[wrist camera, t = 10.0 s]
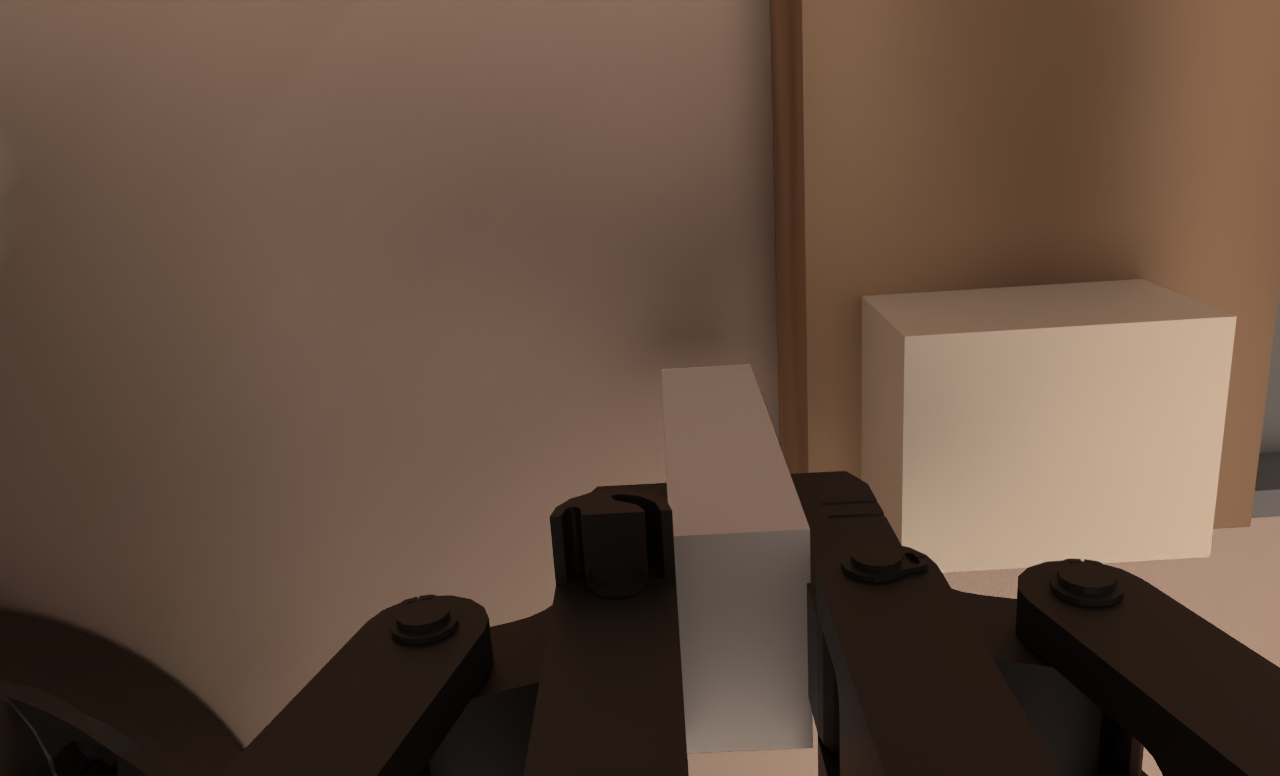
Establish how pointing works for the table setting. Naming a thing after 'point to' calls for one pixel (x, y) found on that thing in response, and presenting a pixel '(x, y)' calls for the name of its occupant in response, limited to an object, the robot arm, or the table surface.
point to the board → (1020, 179)
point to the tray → (1270, 439)
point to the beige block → (1045, 422)
